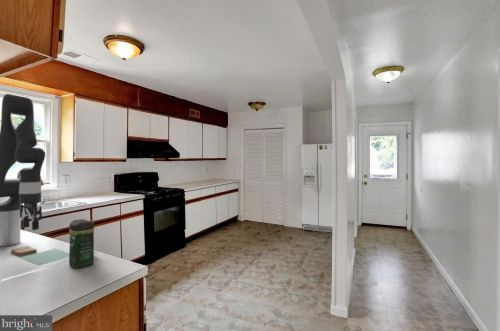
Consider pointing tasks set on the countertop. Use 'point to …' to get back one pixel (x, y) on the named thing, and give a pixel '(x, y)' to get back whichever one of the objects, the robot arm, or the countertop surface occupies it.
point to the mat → (46, 256)
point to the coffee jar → (81, 243)
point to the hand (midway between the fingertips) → (30, 228)
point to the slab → (23, 251)
